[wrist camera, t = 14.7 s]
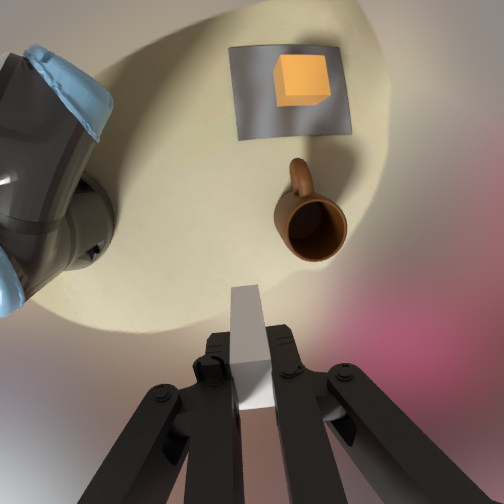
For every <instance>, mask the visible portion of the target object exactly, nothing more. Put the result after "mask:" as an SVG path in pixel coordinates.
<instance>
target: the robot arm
mask: <svg viewBox="0 0 504 504" xmlns="http://www.w3.org/2000/svg"><path fill="white" fill-rule="evenodd" d="M23 55H24V57H22V56H18V55H16V54H13V53H10V52H6V53H4V54H2V55H0V317H1V318H2V317H5V316H7V315H9V314H10V313H12V312H13V311H15V310H17V309H19V308H21V307H22V306H23V304H24V303H25V302H26V301H27V300H28V299H29V298H30V297H32V296H33V295H34V294H35V293H36V292H38V291H39V290H40V289H41V288H43V287H44V286H45V285H46V284H47V283H49V282H50V281H51V280H53V279H54V278H55V277H56V276H58V275H59V274H60V273H61V272H63V271H70V270H78V269H82V268H85V267H88V266H90V265H91V264H93V263H94V262H95V261H96V260H98V259H99V258H100V257H101V256H102V255H103V254H104V253H105V251H106V250H107V248H108V246H109V244H110V242H111V239H112V235H113V228H114V217H113V210H112V206H111V203H110V200H109V198H108V196H107V194H106V192H105V190H104V189H103V187H102V186H101V185H100V184H99V183H98V182H97V181H96V180H95V179H94V178H92V177H91V176H89V175H87V174H85V173H83V171H84V169H85V167H86V165H87V163H88V160H89V158H90V156H91V154H92V152H93V150H94V148H95V146H96V144H97V143H98V144H99V142H100V135H101V133H102V131H103V129H104V127H105V125H106V123H107V121H108V119H109V117H110V115H111V113H112V110H113V106H114V102H113V98H112V95H111V94H110V92H109V91H108V90H107V89H106V88H105V87H103V86H102V85H101V84H100V83H98V82H97V81H96V80H94V79H93V78H92V77H90V76H89V75H88V74H86V73H85V72H83V71H82V70H80V69H79V68H77V67H76V66H74V65H73V64H71V63H70V62H68V61H67V60H65V59H63V58H62V57H60V56H57V55H55V54H54V53H52V52H50V51H48V50H47V49H46V48H44V47H42V46H40V45H37V44H34V45H31V46H30V47H29V48H28V49H26V50H25V51H24V54H23ZM205 353H206V354H205V355H204V356H202V357H200V358H198V359H197V360H196V361H195V362H194V364H193V369H194V373H195V376H196V379H197V383H196V384H194V385H193V386H190V387H187V388H184V389H180V390H178V389H177V388H175V386H173V385H170V384H160V385H157V386H154V387H153V388H151V389H150V390H149V391H148V392H147V394H146V395H145V397H144V398H143V400H142V401H141V403H140V405H139V406H138V408H137V409H136V411H135V413H134V414H133V416H132V417H131V419H130V420H129V422H128V423H127V425H126V426H125V428H124V430H123V431H122V433H121V434H120V436H119V437H118V439H117V441H116V442H115V444H114V446H113V447H112V448H111V450H110V452H109V453H108V455H107V457H106V458H105V460H104V461H103V463H102V465H101V466H100V468H99V469H98V471H97V472H96V474H95V475H94V477H93V479H92V480H91V482H90V483H89V485H88V487H87V488H86V490H85V492H84V493H83V495H82V496H81V498H80V500H79V501H78V503H77V504H166V502H167V500H168V498H169V495H170V493H171V491H172V489H173V486H174V484H175V482H176V479H177V477H178V474H179V472H180V470H181V468H182V465H183V463H184V461H185V458H186V456H187V454H188V463H187V473H186V483H185V494H184V504H245V498H244V480H243V462H242V440H241V419H240V415H239V409H240V410H243V409H254V408H263V407H270V406H275V411H276V422H277V426H278V432H279V438H280V445H281V452H282V457H283V464H284V471H285V477H286V483H287V490H288V496H289V502H290V504H348V502H347V499H346V495H345V492H344V489H343V485H342V482H341V479H340V475H339V472H338V468H337V465H336V462H335V458H334V456H333V452H332V449H331V445H330V442H329V439H328V435H327V432H326V429H325V426H324V422H323V420H325V423H326V424H327V425H328V427H329V428H330V430H331V431H332V432H333V434H334V435H335V437H336V438H337V440H338V441H339V442H340V444H341V445H342V447H343V448H344V449H345V451H346V452H347V453H348V455H349V456H350V458H351V459H352V461H353V462H354V463H355V465H356V466H357V467H358V469H359V470H360V472H361V473H362V474H363V475H364V477H365V478H366V479H367V481H368V482H369V483H370V485H371V486H372V488H373V489H374V490H375V492H376V493H377V494H378V495H379V497H380V498H381V500H382V501H383V502H384V504H502V503H499V502H496V501H493V500H491V499H490V498H489V497H488V496H487V495H486V494H485V493H484V492H483V491H482V490H481V489H480V488H479V487H478V486H477V485H476V484H475V483H474V482H473V481H472V480H471V479H470V478H469V477H468V476H466V474H465V473H464V472H463V471H462V470H461V469H460V468H459V467H458V466H456V464H455V463H454V462H452V461H451V459H450V458H449V457H448V456H446V455H445V453H444V452H443V451H442V450H441V449H439V448H438V447H437V445H435V443H433V442H432V441H431V440H430V439H429V438H428V437H427V436H426V435H425V434H424V433H423V432H422V431H421V430H420V429H419V428H418V427H417V426H416V425H415V424H414V423H413V421H411V420H410V418H408V416H406V414H405V413H404V412H403V411H402V410H401V409H400V408H399V407H397V405H396V404H394V402H392V400H391V399H390V398H389V397H388V396H387V395H386V394H385V393H384V392H383V391H382V390H381V389H380V388H379V387H377V385H376V384H375V383H374V382H373V381H372V380H371V379H370V378H369V377H368V376H367V375H366V374H365V373H364V372H363V371H362V370H361V369H360V368H358V367H357V366H355V365H353V364H350V363H341V364H338V365H335V366H333V367H332V368H331V369H330V370H329V371H328V373H324V372H314V371H311V370H309V369H307V368H305V366H304V365H303V364H302V362H301V359H300V356H299V353H298V350H297V347H296V343H295V340H294V338H293V334H292V331H291V329H290V328H289V327H288V326H286V325H285V324H283V325H276V326H268V327H265V323H264V317H263V312H262V306H261V300H260V295H259V289H258V285H249V286H241V287H232V288H231V317H230V332H221V333H212V334H211V335H210V337H209V338H208V339H207V344H206V351H205ZM188 451H189V453H188Z"/></svg>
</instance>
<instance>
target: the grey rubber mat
mask: <svg viewBox="0 0 504 504" xmlns="http://www.w3.org/2000/svg"><path fill="white" fill-rule="evenodd" d="M228 50H229V59H230V68H231V77H232V86H233V95H234V104H235V113H236V122H237V131H238V140H239V141H241V140H251V139H262V138H274V137H289V136H310V135H352V132H351V123H350V114H349V106H348V99H347V92H346V85H345V79H344V73H343V67H342V62H341V56H340V51H339V47H327V46H308V45H270V46H250V47H238V48H228ZM280 55H324V56H325V61H326V67H327V73H328V79H329V86H330V93H331V96H329V97H327V98H326V99H324V100H323V101H321V102H320V103H318V104H317V105H309V106H280V107H277V100H276V92H275V84H274V77H273V70H274V68H275V65H276V63H277V61H278V59H279V56H280Z"/></svg>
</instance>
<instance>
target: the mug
mask: <svg viewBox="0 0 504 504" xmlns="http://www.w3.org/2000/svg"><path fill="white" fill-rule="evenodd" d="M290 176H291V181H292V186H293V191H291V192H289V193H287V194H285V195H284V196H283V197H282V198H281V199H280V200H279V202H278V203H277V205H276V207H275V211H274V223H275V226H276V228H277V230H278V232H279V234H280V236H281V238H282V239H283V241H284V243H285V244H286V246H287V247H288V248H289V249H290V250H291V251H292V253H293V254H295V255H296V256H297V257H299V258H300V259H302V260H305V261H310V262H319V261H323V260H326V259H328V258H330V257H332V256H333V255H334V254H336V253H337V252H338V251H339V250H340V248H341V247H342V245H343V243H344V241H345V239H346V235H347V221H346V218H345V215H344V213H343V211H342V210H341V209H340V207H339V206H338V205H336V204H335V203H334V202H332V201H331V200H330V199H328V198H326V197H324V196H321V195H319V194H316V193H314V192H313V185H312V178H311V174H310V171H309V168H308V165H307V163H306V162H305V161H304V160H303V159H300V158H295V159H293V160H292V161H291V163H290Z"/></svg>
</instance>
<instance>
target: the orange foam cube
mask: <svg viewBox="0 0 504 504" xmlns="http://www.w3.org/2000/svg"><path fill="white" fill-rule="evenodd" d="M273 77H274V84H275V92H276V100H277V107H280V106H309V105H317V104H318V103H320V102H321V101H323V100H324V99H326V98H327V97H329V96H331V93H330V86H329V79H328V73H327V67H326V61H325V56H324V55H280V56H279V59H278V61H277V63H276V65H275V68H274V70H273Z"/></svg>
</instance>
